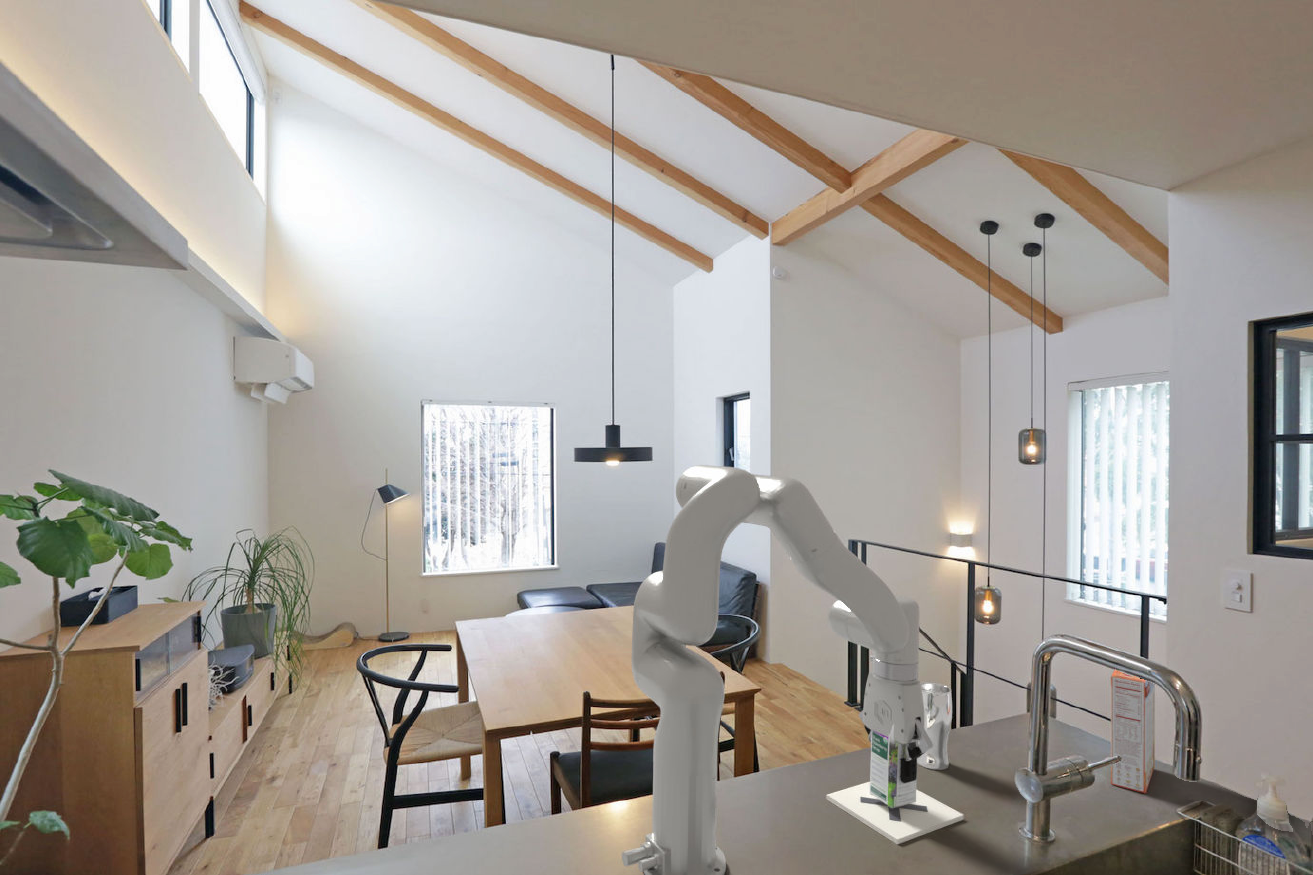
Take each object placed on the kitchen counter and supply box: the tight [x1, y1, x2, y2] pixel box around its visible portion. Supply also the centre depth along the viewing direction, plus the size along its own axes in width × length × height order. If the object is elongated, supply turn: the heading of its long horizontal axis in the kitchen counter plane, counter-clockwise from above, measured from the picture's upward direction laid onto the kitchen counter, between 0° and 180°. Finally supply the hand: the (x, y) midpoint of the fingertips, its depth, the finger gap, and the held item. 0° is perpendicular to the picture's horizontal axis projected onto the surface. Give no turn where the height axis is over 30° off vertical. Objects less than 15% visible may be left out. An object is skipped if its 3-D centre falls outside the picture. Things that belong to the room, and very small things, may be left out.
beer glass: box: [917, 681, 953, 771], centre depth 142 cm, size 7×7×15 cm
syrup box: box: [869, 724, 919, 808], centre depth 124 cm, size 6×6×14 cm
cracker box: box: [1110, 669, 1156, 794], centre depth 138 cm, size 14×6×21 cm, turn 139°
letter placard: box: [826, 781, 964, 845], centre depth 124 cm, size 16×16×1 cm
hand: (893, 771), depth 124 cm, fingers closed on syrup box, 5 cm apart
